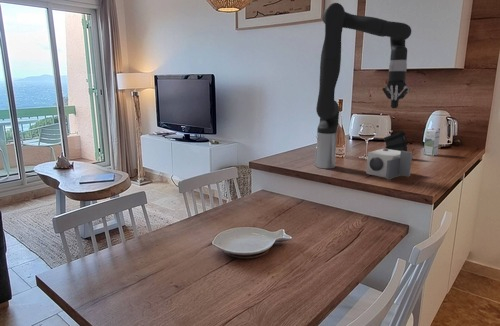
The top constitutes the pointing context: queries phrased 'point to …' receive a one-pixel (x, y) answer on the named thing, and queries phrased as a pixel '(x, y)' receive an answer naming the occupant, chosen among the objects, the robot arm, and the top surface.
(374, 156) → the knobbed white box
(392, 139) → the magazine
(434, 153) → the syrup box
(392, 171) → the side door
